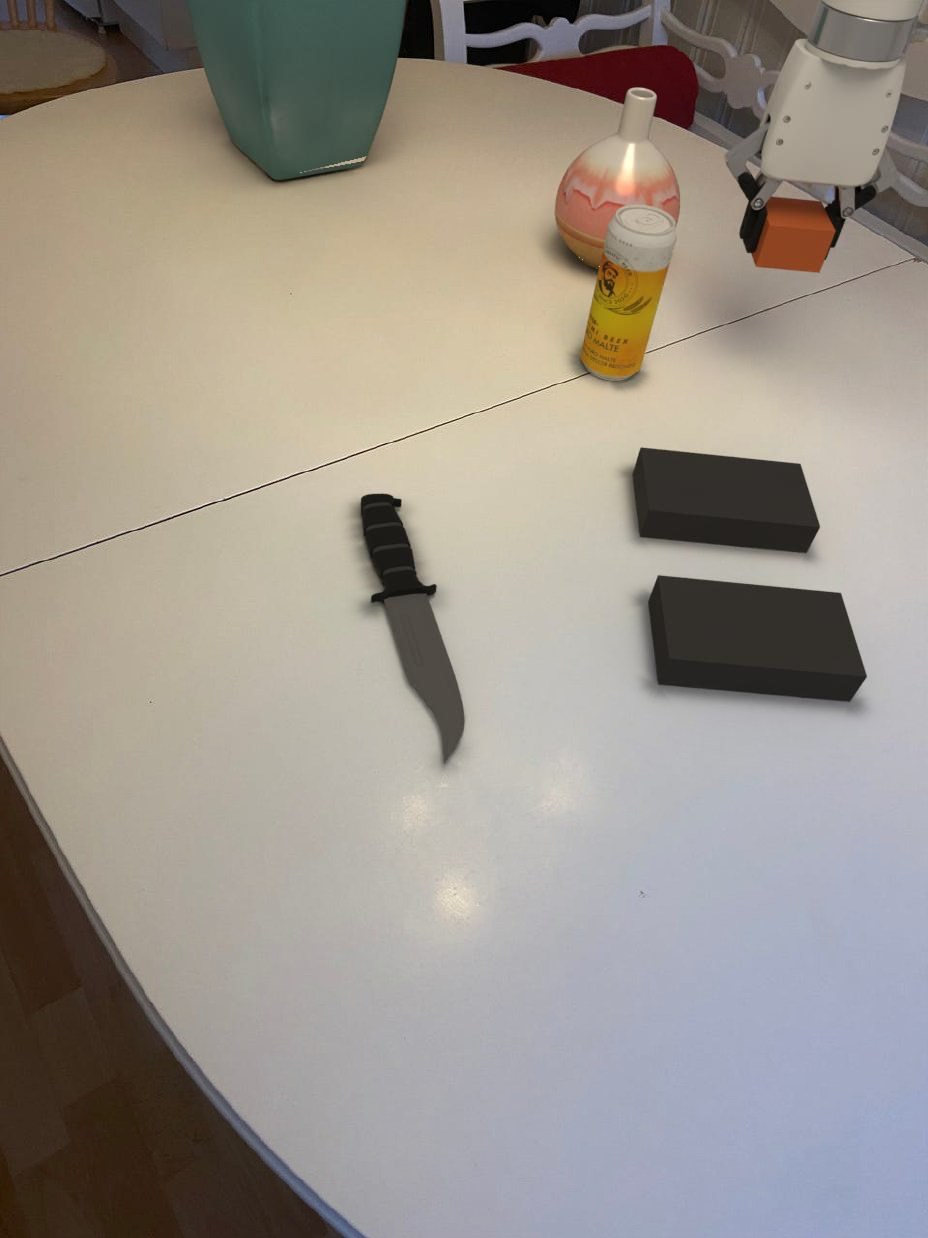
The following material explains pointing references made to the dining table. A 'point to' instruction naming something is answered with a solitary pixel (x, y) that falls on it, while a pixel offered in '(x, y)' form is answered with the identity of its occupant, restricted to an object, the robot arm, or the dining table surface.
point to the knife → (412, 615)
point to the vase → (615, 180)
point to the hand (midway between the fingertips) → (783, 247)
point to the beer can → (627, 291)
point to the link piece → (794, 235)
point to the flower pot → (299, 76)
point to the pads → (736, 612)
